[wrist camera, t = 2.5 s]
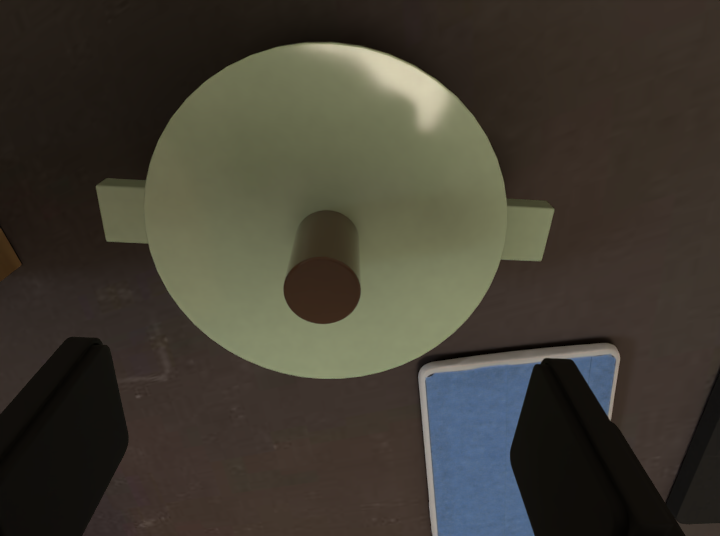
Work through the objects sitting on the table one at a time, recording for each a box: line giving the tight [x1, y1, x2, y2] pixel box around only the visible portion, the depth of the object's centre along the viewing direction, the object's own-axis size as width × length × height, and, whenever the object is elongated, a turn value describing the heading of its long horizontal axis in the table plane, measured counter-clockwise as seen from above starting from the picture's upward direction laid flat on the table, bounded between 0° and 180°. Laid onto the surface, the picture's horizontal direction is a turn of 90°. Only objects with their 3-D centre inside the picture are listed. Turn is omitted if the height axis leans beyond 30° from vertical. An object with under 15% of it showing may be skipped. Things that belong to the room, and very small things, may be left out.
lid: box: [144, 41, 507, 379], centre depth 18 cm, size 14×14×5 cm
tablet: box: [418, 343, 620, 536], centre depth 35 cm, size 19×13×1 cm, turn 7°
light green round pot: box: [96, 178, 554, 261], centre depth 23 cm, size 13×18×8 cm
